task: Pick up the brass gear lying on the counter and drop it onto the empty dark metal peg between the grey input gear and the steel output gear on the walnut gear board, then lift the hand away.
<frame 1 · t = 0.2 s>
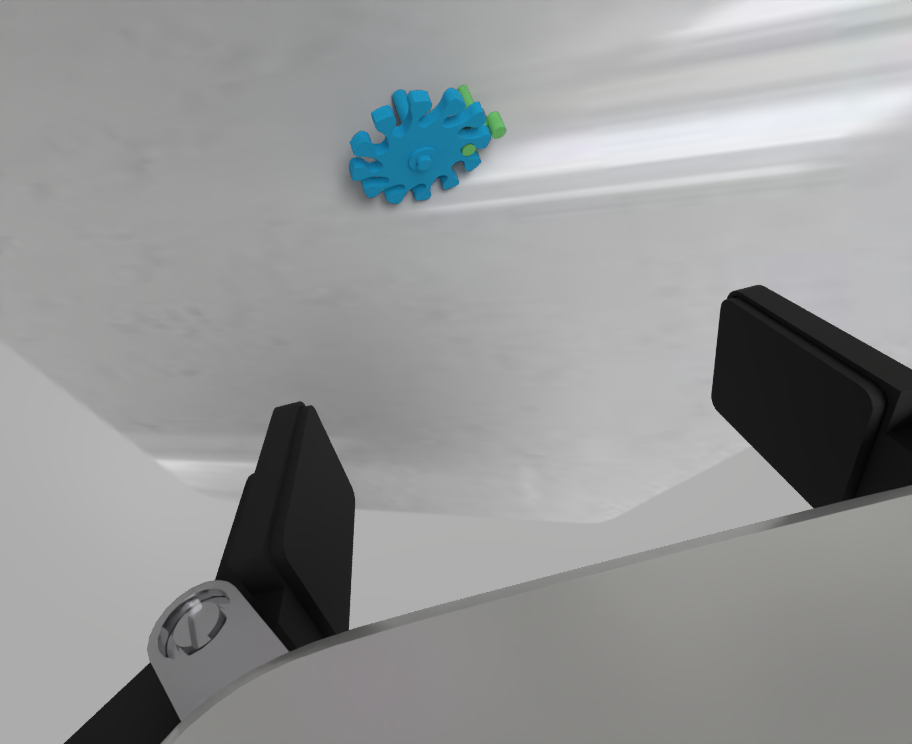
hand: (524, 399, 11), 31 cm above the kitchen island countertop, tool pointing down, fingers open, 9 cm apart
gear: (423, 142, 36), on the kitchen island countertop
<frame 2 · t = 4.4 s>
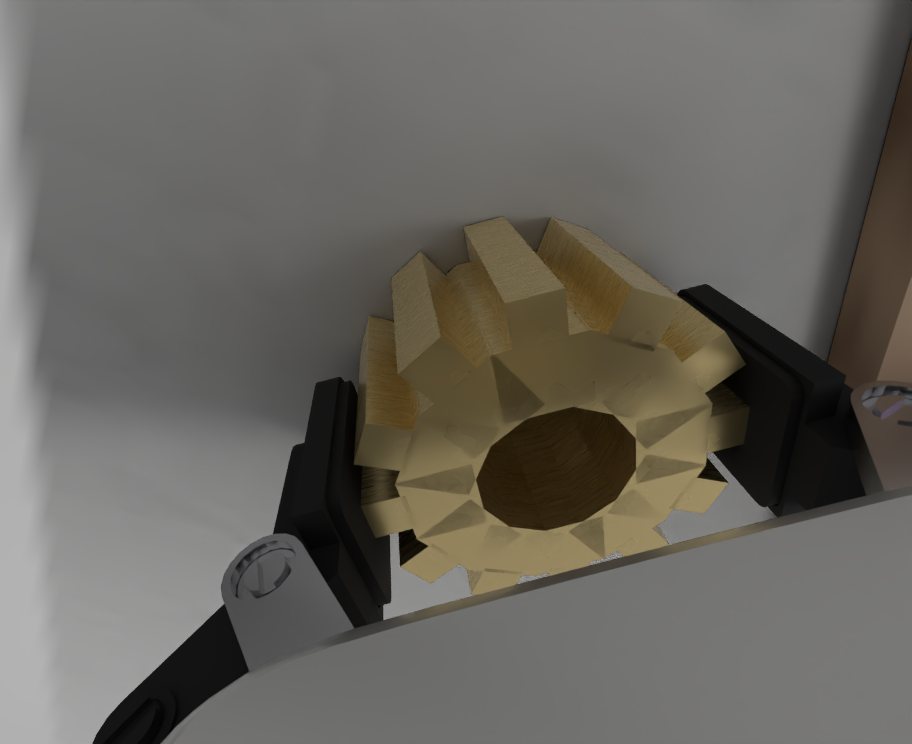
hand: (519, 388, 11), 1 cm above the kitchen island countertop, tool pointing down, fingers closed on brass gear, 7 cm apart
brass gear: (508, 363, 12), on the kitchen island countertop, touching gripper
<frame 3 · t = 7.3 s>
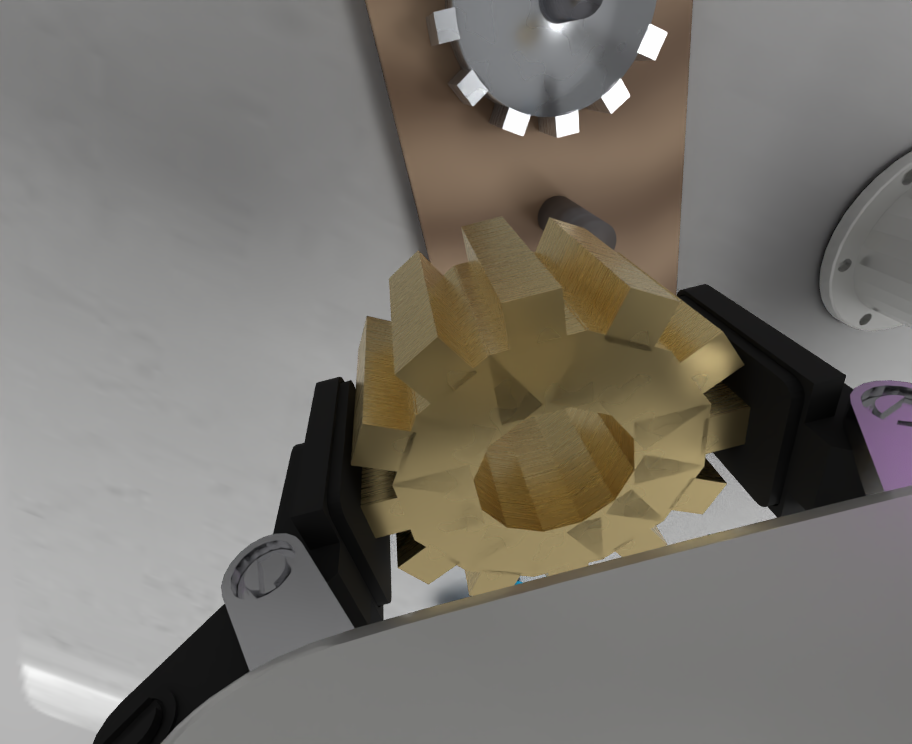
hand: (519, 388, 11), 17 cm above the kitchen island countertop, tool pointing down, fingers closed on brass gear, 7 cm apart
brass gear: (507, 364, 12), point 16 cm above the kitchen island countertop, touching gripper
gear board: (546, 208, 27), on the kitchen island countertop
when the fingers open (5 cm above the kitchen island countertop, at t = 10.6 s): brass gear drops 2 cm, resting on gear board.
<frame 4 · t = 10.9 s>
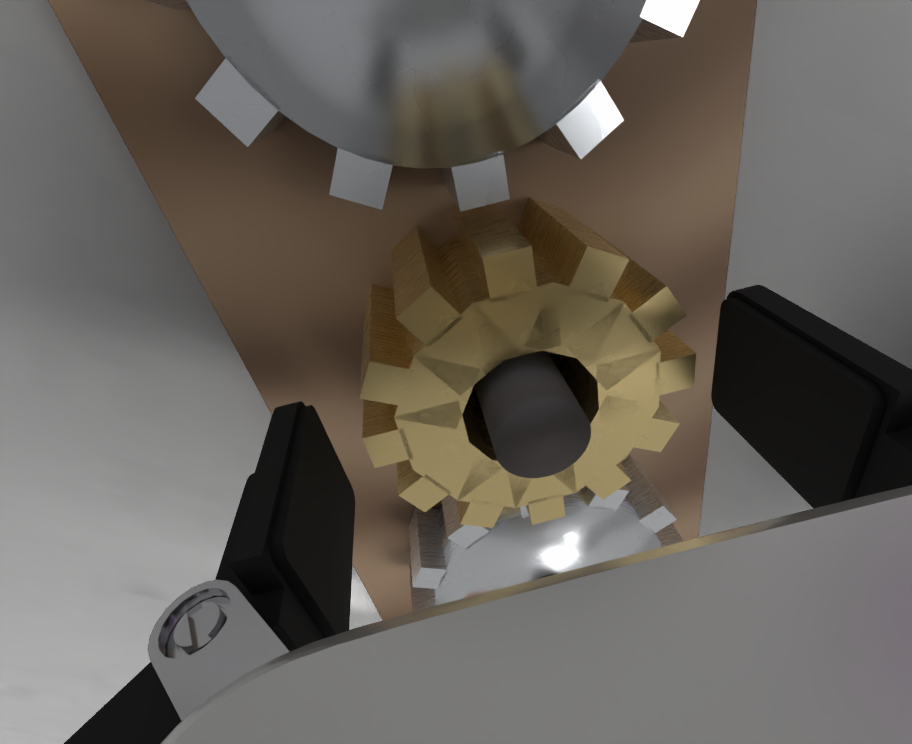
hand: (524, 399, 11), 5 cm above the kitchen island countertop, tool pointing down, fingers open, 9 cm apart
brass gear: (494, 329, 14), point 1 cm above the kitchen island countertop, touching gear board
output gear: (550, 586, 17), point 4 cm above the kitchen island countertop, hinge at 0.0°
gear board: (483, 307, 15), on the kitchen island countertop
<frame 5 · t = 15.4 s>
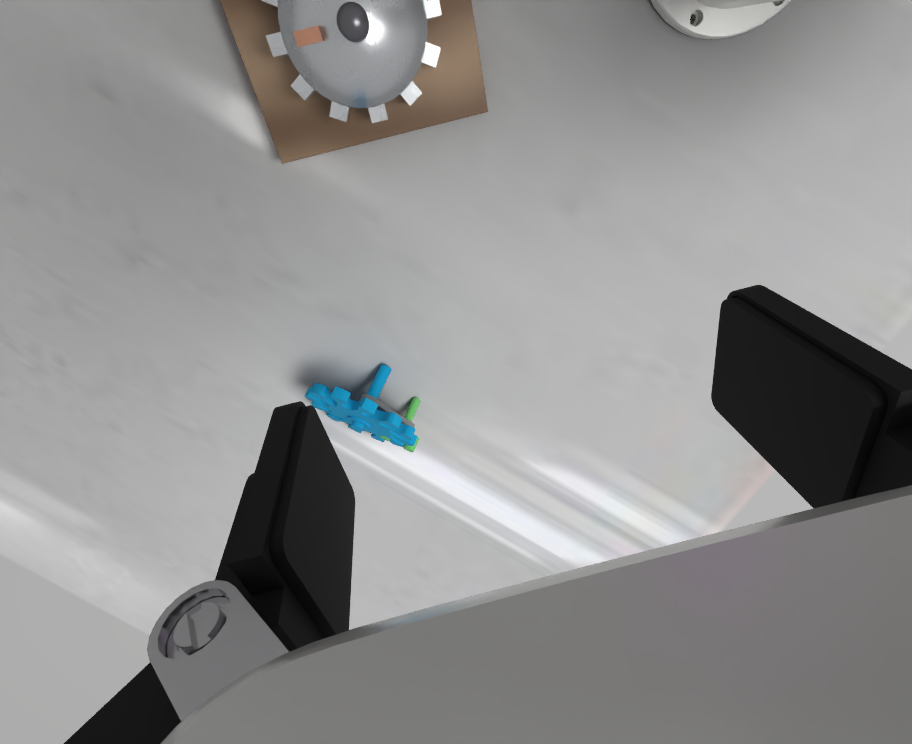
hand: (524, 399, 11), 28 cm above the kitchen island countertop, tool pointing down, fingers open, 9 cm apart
output gear: (354, 25, 26), point 4 cm above the kitchen island countertop, hinge at 0.0°
gear: (367, 393, 44), on the kitchen island countertop
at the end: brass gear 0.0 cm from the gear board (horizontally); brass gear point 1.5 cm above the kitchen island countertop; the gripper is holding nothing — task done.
